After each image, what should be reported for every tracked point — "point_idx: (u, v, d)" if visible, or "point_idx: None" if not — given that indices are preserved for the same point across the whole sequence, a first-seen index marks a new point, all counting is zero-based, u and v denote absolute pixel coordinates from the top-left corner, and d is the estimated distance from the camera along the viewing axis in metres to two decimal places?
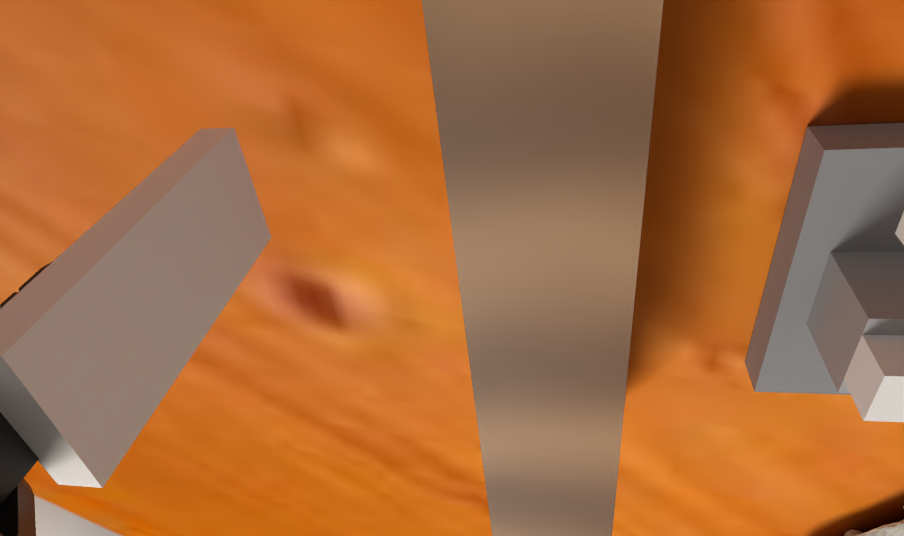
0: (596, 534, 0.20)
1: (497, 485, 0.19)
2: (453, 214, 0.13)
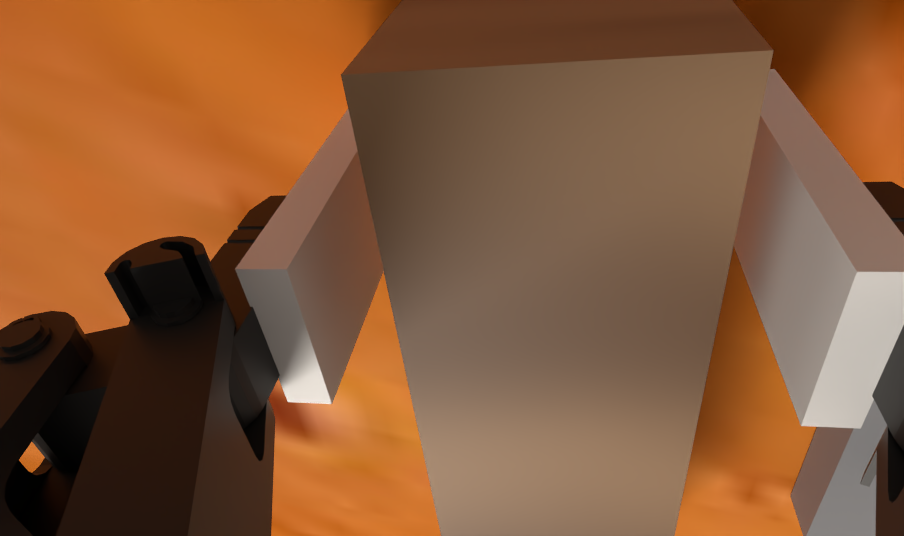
0: None
1: None
2: (421, 421, 0.09)
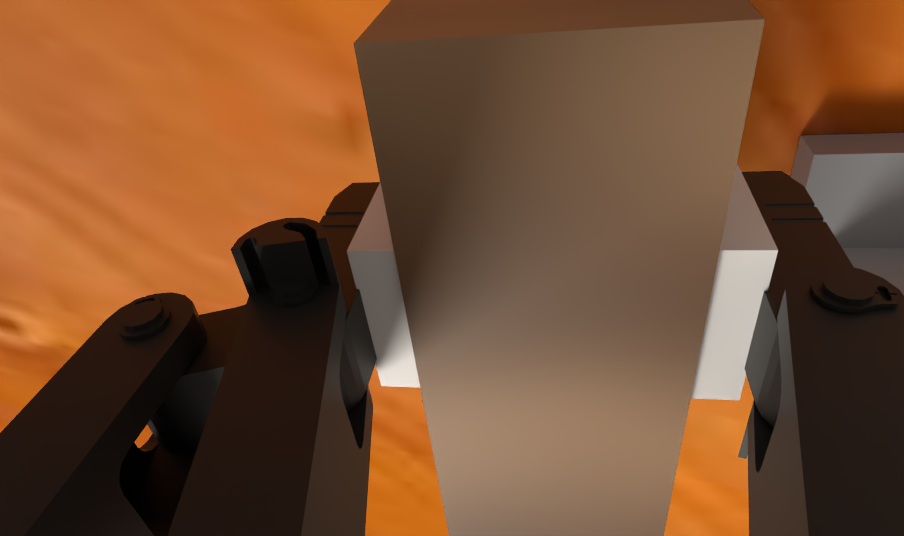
0: None
1: None
2: (425, 389, 0.10)
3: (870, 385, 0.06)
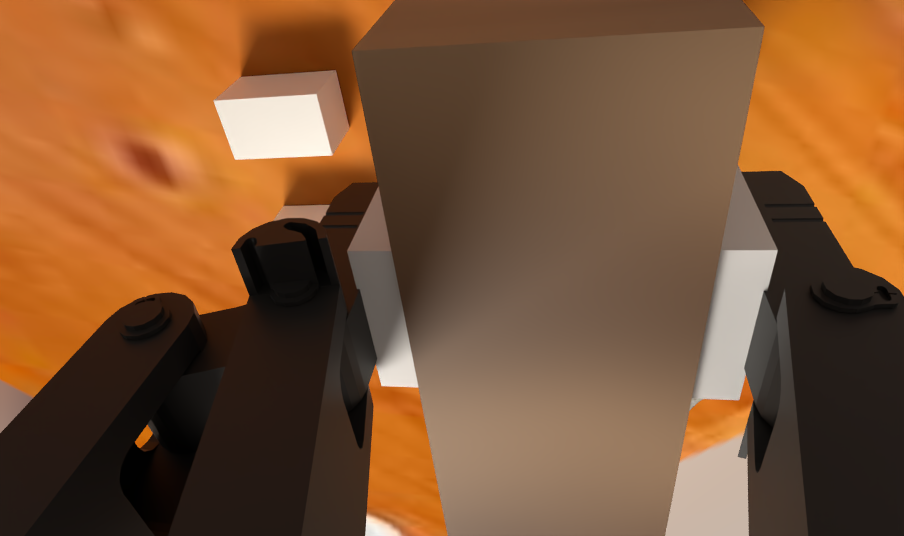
0: None
1: None
2: (424, 394, 0.10)
3: (869, 385, 0.06)
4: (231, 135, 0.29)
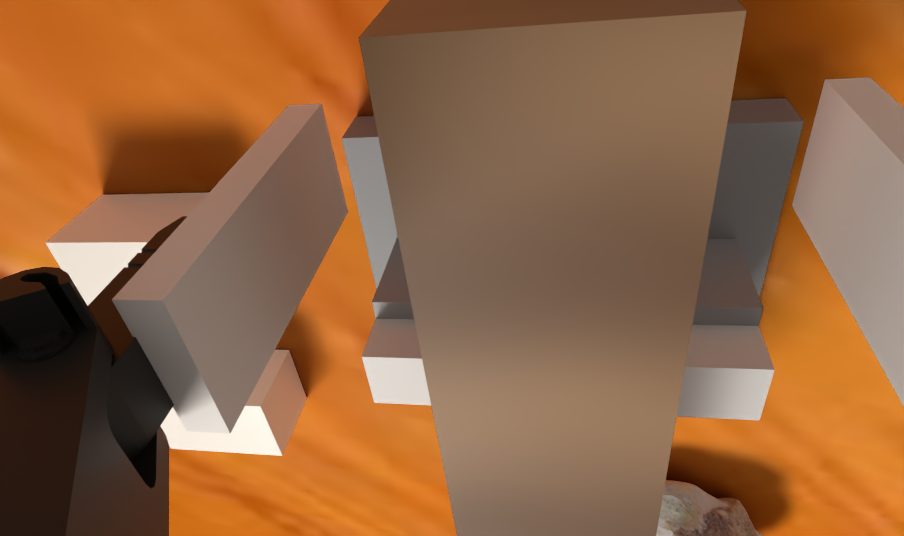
0: None
1: None
2: (429, 371, 0.10)
3: None
4: (78, 285, 0.20)
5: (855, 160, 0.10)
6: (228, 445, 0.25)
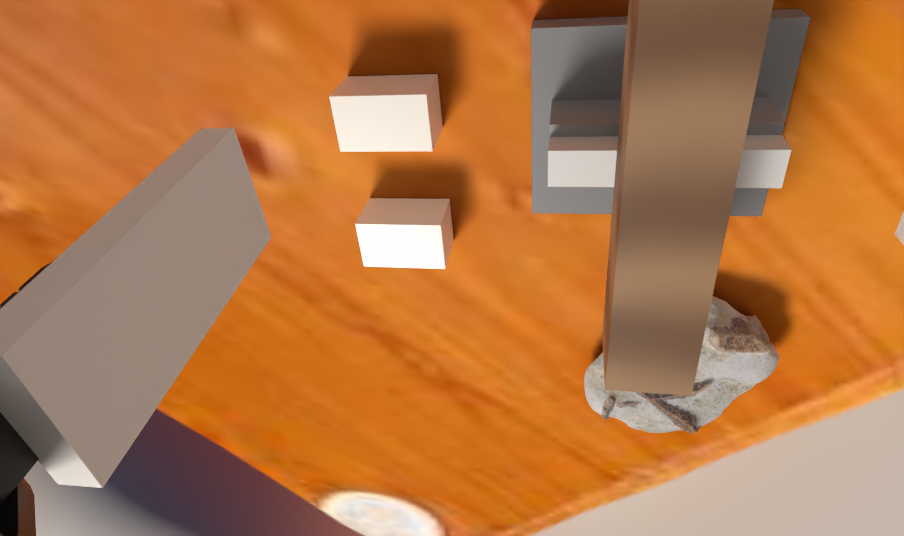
0: (686, 365, 0.28)
1: (619, 320, 0.27)
2: (633, 96, 0.21)
3: None
4: (340, 129, 0.32)
5: None
6: (407, 261, 0.36)
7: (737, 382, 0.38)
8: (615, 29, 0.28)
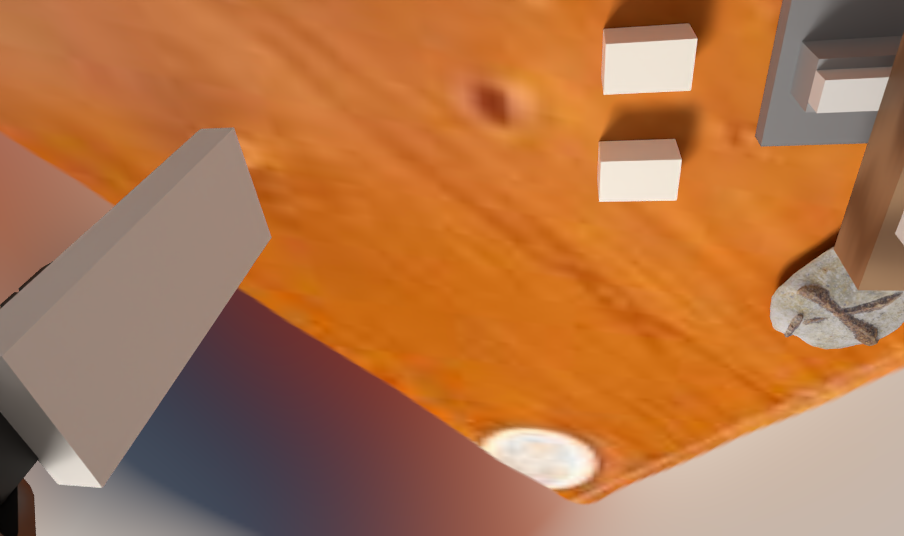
0: None
1: (890, 223, 0.32)
2: None
3: None
4: (609, 73, 0.36)
5: None
6: (642, 195, 0.40)
7: None
8: None
